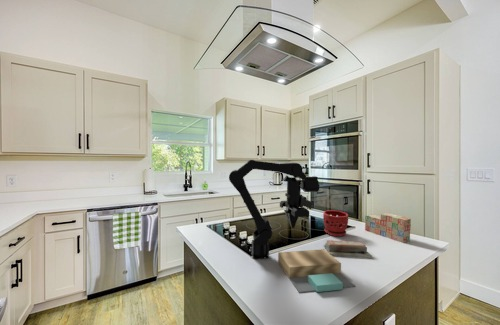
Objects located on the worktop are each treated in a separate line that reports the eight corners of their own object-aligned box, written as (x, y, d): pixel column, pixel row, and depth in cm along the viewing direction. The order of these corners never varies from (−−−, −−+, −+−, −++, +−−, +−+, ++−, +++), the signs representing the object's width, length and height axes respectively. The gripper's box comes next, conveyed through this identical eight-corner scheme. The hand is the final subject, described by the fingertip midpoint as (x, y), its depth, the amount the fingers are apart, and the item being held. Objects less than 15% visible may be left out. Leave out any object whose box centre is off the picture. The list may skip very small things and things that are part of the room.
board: (289, 278, 75) (289, 267, 75) (278, 262, 87) (278, 252, 87) (340, 273, 79) (341, 263, 79) (323, 258, 91) (323, 249, 90)
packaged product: (329, 245, 94) (323, 237, 104) (329, 256, 94) (323, 247, 104) (372, 248, 92) (362, 239, 102) (372, 259, 92) (362, 249, 102)
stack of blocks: (364, 230, 129) (365, 210, 129) (371, 229, 132) (371, 209, 132) (403, 243, 110) (404, 219, 110) (410, 241, 113) (411, 218, 113)
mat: (299, 292, 67) (299, 291, 67) (289, 278, 75) (289, 277, 75) (355, 286, 71) (355, 285, 71) (340, 273, 79) (340, 273, 79)
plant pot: (318, 230, 127) (319, 210, 127) (339, 229, 129) (340, 210, 129) (329, 238, 114) (330, 216, 114) (352, 238, 116) (353, 215, 116)
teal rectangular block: (308, 275, 73) (307, 281, 73) (316, 285, 67) (316, 292, 67) (332, 273, 75) (331, 278, 75) (342, 283, 69) (342, 289, 69)
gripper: (322, 195, 85) (321, 234, 85) (301, 188, 103) (300, 220, 104) (295, 195, 83) (294, 235, 83) (279, 188, 101) (278, 221, 101)
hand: (292, 227), depth 93 cm, fingers closed
